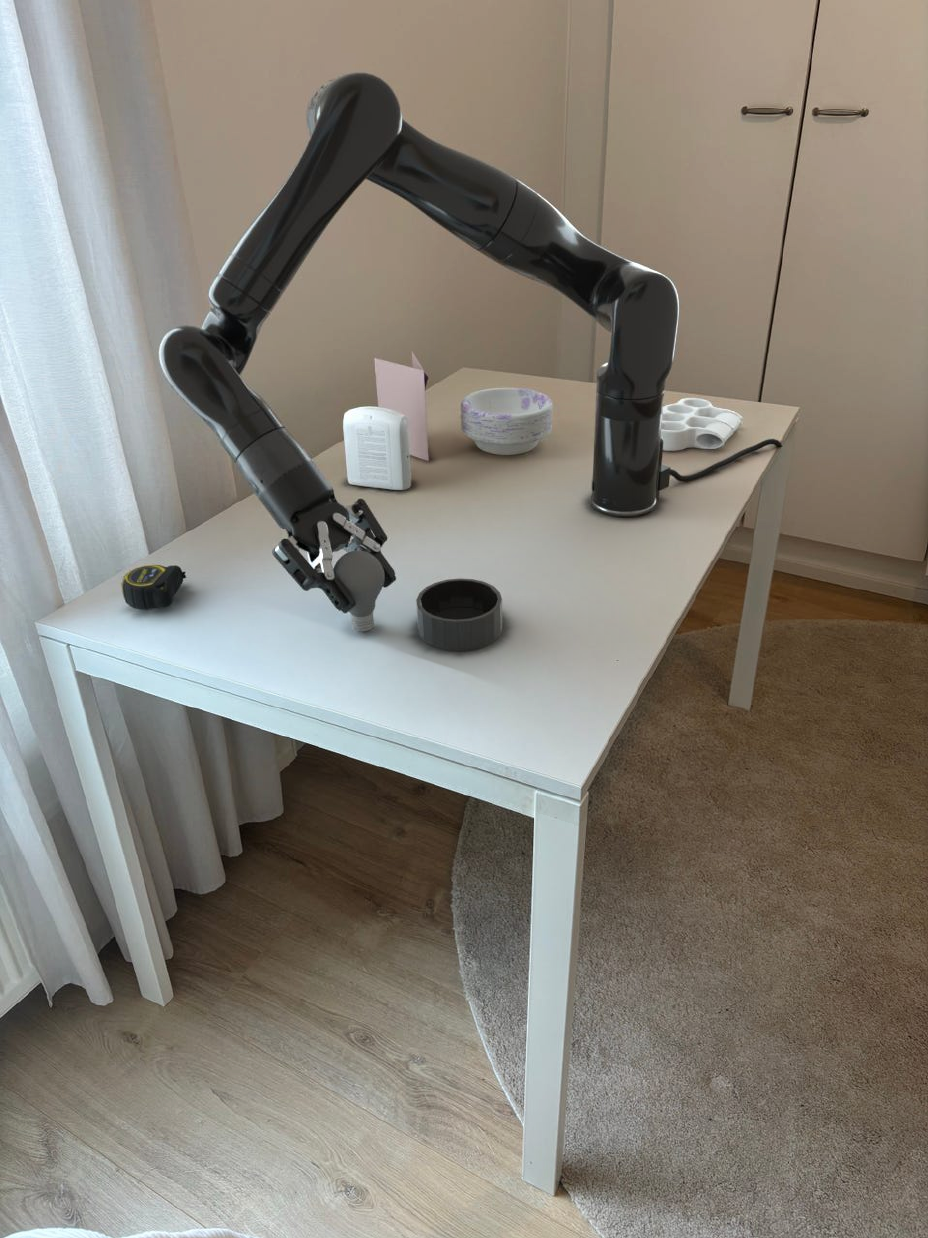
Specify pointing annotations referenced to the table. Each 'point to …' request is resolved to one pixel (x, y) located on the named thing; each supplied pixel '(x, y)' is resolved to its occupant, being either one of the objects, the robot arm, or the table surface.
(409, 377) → the greeting card
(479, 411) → the paper bowls
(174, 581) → the tape measure
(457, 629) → the dark gray bowl
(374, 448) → the white upright block
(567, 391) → the table surface
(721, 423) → the white multi-hole holder
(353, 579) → the light bulb
